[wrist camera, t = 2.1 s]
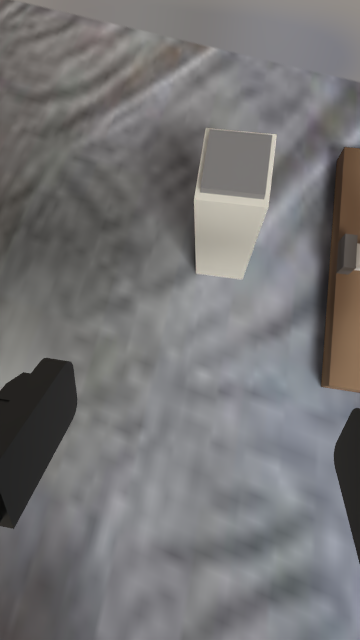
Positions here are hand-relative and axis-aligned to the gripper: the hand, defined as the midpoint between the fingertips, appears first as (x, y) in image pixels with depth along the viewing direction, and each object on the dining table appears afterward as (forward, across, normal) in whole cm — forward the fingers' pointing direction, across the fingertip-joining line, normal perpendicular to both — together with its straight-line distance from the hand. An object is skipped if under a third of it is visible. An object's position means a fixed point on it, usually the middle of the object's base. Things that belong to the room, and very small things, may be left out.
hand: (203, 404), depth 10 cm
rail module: (+18, 0, +2) cm, 18 cm away
